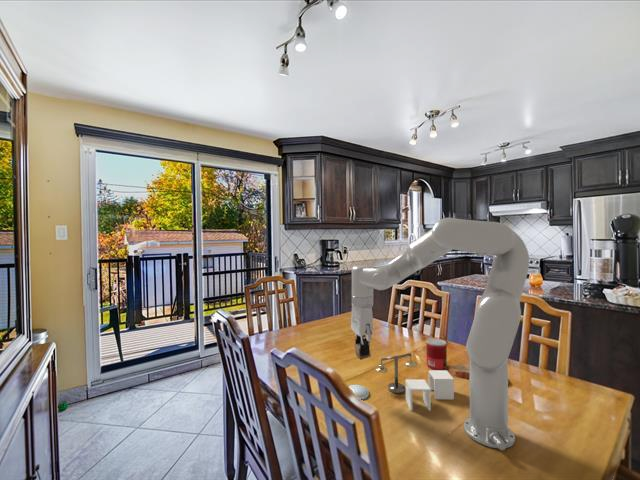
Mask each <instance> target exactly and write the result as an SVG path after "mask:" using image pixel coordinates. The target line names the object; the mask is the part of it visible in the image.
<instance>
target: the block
mask: <svg viewBox="0 0 640 480" xmlns="http://www.w3.org/2000/svg"><path fill="white" fill-rule="evenodd" d="M360 344H361V343H358V344H353V346H354V351H355V355H356V357H357V358H358V359H359V360H360V361H362V360H365V359H368V358H371V357H372V356H371V350H370V348H369V355H366V356H361V355H360Z"/></svg>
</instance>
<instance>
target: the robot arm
mask: <svg viewBox="0 0 640 480" xmlns="http://www.w3.org/2000/svg"><path fill="white" fill-rule="evenodd" d="M453 250H454V251H461V252H468V253H474V254H475V253H476V254H482V255H488V256H491V257H492V263H491V268H490V271H489V275H488V279H487V282H486V285H485V288H484V291H483V293H482V294H481V297H480V298H479V300H478V301H479V302H478V303H477V307H476V311H475V315H474V317H473V318H474V319H473V321H472V325H471V327H470V331H469V334H468V337H467V340H466V345H465V349H466V354H467V356H468V358H469V365H470V368H469V369H470V376H469V383H468V384H469V417H468V418H466V419H465V420H464V421H463V429H464V432H465V433H466V434H467V435H468V437H470V438H471V439H472V440H473V441H475V442H476V443H478V444H480V445H483V446H486V447H488V448H492V449H493V448H494V449H499V450H500V451H505V450H506V449H509V448H511V447H512V446H514V444H515V442H516V437H515V433H514V432H513V430H511V428H509V398H508V397H509V387H508V386H509V384H508V380H509V362H508V361H509V357H510V353H511V350H512V347H513V345H514V342H515V338H516V336H517V332H518V329H519V325H520V321H521V317H522V310H521V299H522V295H523V292H524V288H525V285H526V281H527V276H528V273H529V267H530V255H529V251H528V248H527V245H526V243H525V241H524V240H523V239H522V237H520V235H519V234H518V233H516V232H515V231H514V230H513V229H512V228H511V227H509V225H507V224H505V223H503V222H497V221H487V220H485V221H484V220H475V219H474V220H472V219H464V218H463V219H462V218H454V217H443V218H441V219H440V220H438V221H436V223H434V225H433V227H432V228H431V229H429V230H428V231H427V232H425V233H423V234H422V235H421V236H420V237H418V238H417V239H415V240H413V241H412V242H410V244H409V245H408V246H407V248H406V250H405V251H404V252H402V254H400V255H399V256H398V257H396V258H394V259H393V260H391V261H390V262H389V263H387V264H386V265H381V266H378V267H372V266H370V265H366V264H365V265H364V264H361V265H360V264H359V265H354V266H353V267H352V269H351V315H350V328H351V330H352V331H353V333H354V334H355V335H354V339H355V340H354V342H355V344H358V343H361V344H360V355H361V356H366V355H369V349H370V345H371V341H372V340H373V338H372V335H373V333H374V319H373V318H374V316H373V306H374V290H378V291H384V290H387V289H389V288H391V287H393V286H396V285H397V284H399V283H401V282H402V281H403V280H405V279H407V278H408V277H409V276H411V275H413V274H414V273H416V272H418V271H419V270H422V269H425V268H426V267H427V266H429V265H430V264H432V263H433V262H435V261H437V260H438V259H440V258H441V257H443V256H445V255H446V254H448V253H449V252H452V251H453ZM355 344H354V345H355Z"/></svg>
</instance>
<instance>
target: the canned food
mask: <svg viewBox="0 0 640 480" xmlns="http://www.w3.org/2000/svg"><path fill="white" fill-rule="evenodd" d="M447 358H448V357H447V342H446V341H445V340H443V339H440V338H434V337H433V338H427V339H426V365H427V367H428V368H429V369H431V370H446V369H447V367H448V366H447V365H448V364H447V363H448V362H447Z"/></svg>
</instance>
